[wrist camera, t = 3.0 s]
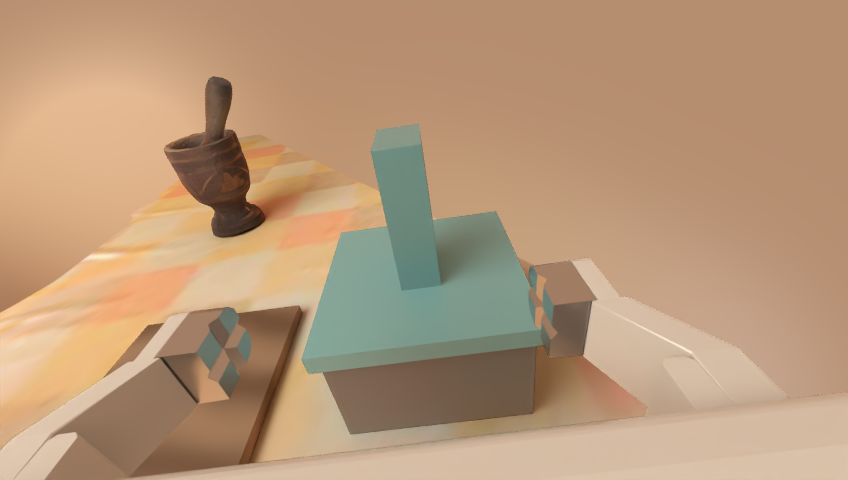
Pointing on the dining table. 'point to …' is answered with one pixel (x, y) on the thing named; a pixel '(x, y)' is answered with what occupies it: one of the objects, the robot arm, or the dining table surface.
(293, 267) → the dining table surface
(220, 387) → the robot arm
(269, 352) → the board
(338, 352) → the lid
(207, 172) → the mortar and pestle
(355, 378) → the tub
